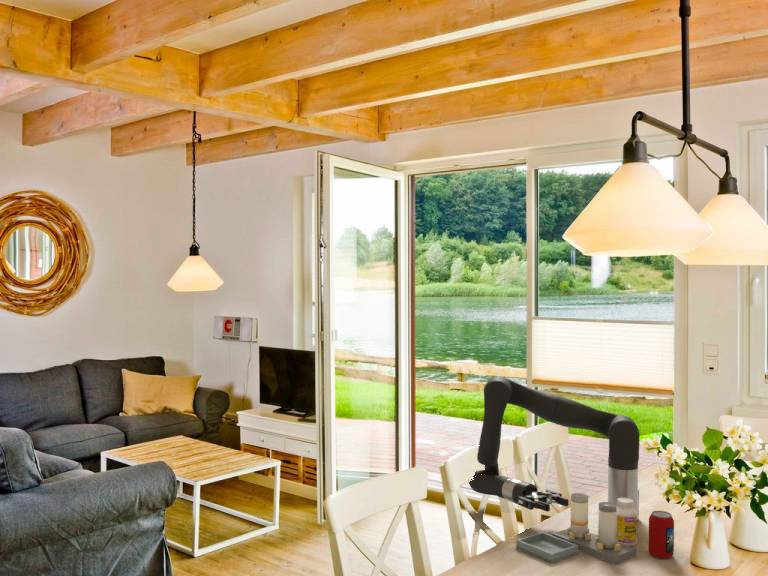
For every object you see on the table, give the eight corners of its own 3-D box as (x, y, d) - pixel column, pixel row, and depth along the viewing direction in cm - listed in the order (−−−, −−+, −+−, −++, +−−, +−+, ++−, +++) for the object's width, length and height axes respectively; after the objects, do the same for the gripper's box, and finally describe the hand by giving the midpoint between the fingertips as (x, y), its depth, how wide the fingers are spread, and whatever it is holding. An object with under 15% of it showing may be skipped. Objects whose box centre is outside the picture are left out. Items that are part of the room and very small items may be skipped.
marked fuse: (577, 531, 220) (578, 492, 220) (591, 536, 216) (592, 496, 216) (566, 535, 217) (567, 495, 217) (580, 540, 213) (580, 499, 213)
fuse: (605, 541, 212) (606, 500, 212) (620, 547, 208) (620, 505, 208) (594, 545, 209) (595, 504, 209) (609, 551, 205) (609, 508, 205)
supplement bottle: (623, 548, 213) (624, 504, 212) (608, 540, 219) (608, 498, 218) (641, 545, 215) (642, 501, 215) (625, 537, 221) (626, 495, 221)
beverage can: (675, 561, 203) (676, 518, 203) (650, 559, 205) (650, 516, 204) (671, 552, 210) (671, 510, 210) (646, 550, 211) (647, 509, 211)
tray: (542, 540, 219) (542, 532, 219) (578, 554, 208) (578, 545, 208) (516, 548, 212) (516, 540, 212) (551, 563, 201) (551, 554, 201)
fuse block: (573, 533, 225) (573, 521, 225) (635, 555, 207) (636, 543, 207) (552, 540, 219) (552, 528, 219) (614, 564, 201) (614, 551, 201)
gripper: (503, 484, 232) (542, 497, 219) (534, 477, 240) (573, 489, 227) (503, 508, 232) (542, 522, 219) (534, 499, 240) (573, 513, 227)
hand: (558, 505), depth 223 cm, fingers open, 8 cm apart
